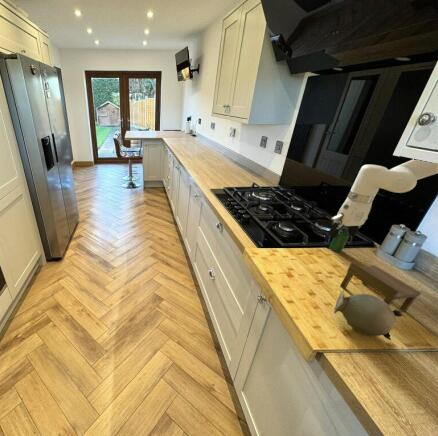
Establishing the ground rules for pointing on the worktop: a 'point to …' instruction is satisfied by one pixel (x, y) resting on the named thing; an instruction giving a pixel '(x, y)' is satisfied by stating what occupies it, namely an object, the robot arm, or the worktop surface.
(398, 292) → the rack
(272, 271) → the worktop surface
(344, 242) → the bottle
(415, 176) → the robot arm
